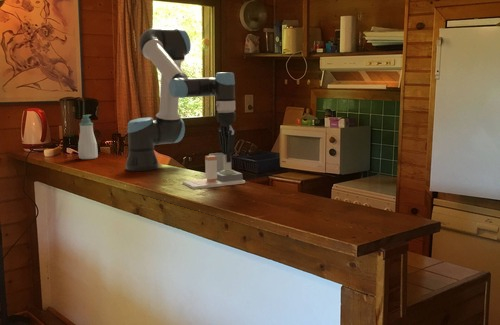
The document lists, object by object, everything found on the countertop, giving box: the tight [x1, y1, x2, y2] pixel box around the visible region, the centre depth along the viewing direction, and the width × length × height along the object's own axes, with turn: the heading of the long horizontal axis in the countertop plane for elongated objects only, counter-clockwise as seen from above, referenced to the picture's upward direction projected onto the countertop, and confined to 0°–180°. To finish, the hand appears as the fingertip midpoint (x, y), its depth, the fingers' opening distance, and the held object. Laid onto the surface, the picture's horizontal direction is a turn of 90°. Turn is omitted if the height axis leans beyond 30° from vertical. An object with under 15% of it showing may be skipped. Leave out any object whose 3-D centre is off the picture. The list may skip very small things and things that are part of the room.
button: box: [221, 169, 235, 175], centre depth 229 cm, size 5×5×3 cm
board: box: [182, 170, 246, 190], centre depth 225 cm, size 12×22×4 cm, turn 116°
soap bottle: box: [77, 114, 99, 160], centre depth 298 cm, size 10×10×23 cm
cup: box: [208, 152, 224, 172], centre depth 245 cm, size 7×10×9 cm
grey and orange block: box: [204, 155, 217, 182], centre depth 224 cm, size 4×4×10 cm
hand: (227, 169), depth 228 cm, fingers closed
